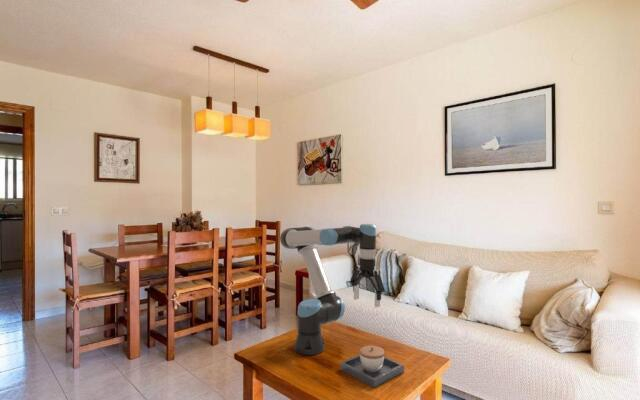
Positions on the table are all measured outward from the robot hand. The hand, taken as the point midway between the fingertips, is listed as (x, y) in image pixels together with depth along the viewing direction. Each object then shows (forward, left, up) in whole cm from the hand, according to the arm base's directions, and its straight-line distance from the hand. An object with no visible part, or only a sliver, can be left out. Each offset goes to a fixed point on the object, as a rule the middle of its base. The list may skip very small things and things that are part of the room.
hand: (366, 302), depth 163 cm
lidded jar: (+9, -6, -26) cm, 28 cm away
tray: (+9, -6, -26) cm, 29 cm away
